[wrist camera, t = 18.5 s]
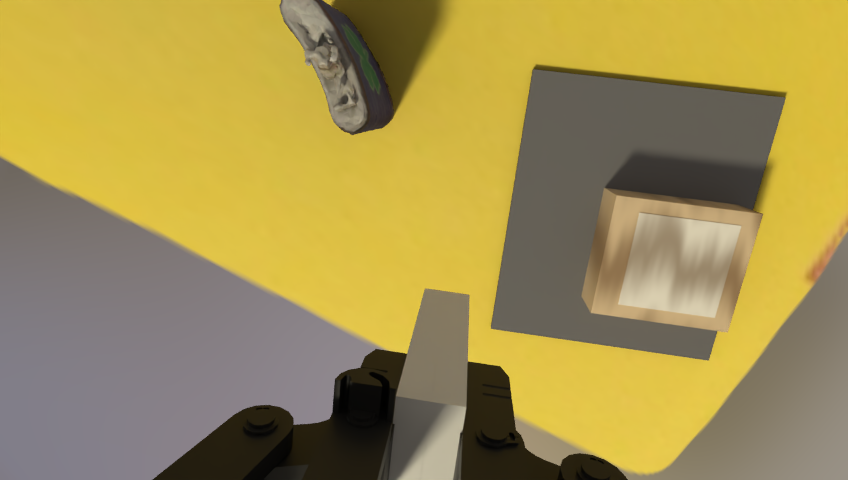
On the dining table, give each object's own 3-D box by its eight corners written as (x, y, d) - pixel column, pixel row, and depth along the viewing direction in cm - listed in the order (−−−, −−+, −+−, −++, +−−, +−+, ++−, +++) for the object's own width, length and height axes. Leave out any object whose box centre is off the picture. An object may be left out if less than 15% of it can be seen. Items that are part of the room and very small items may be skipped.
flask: (316, 22, 38) (258, -9, 28) (349, 3, 38) (303, -36, 27) (371, 134, 40) (336, 143, 30) (404, 117, 39) (380, 121, 29)
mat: (532, 69, 38) (533, 69, 37) (782, 97, 36) (785, 97, 36) (490, 326, 43) (491, 328, 43) (706, 358, 42) (708, 360, 42)
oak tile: (616, 195, 35) (763, 214, 35) (604, 187, 39) (737, 204, 38) (590, 313, 38) (727, 332, 37) (581, 296, 41) (706, 313, 41)
